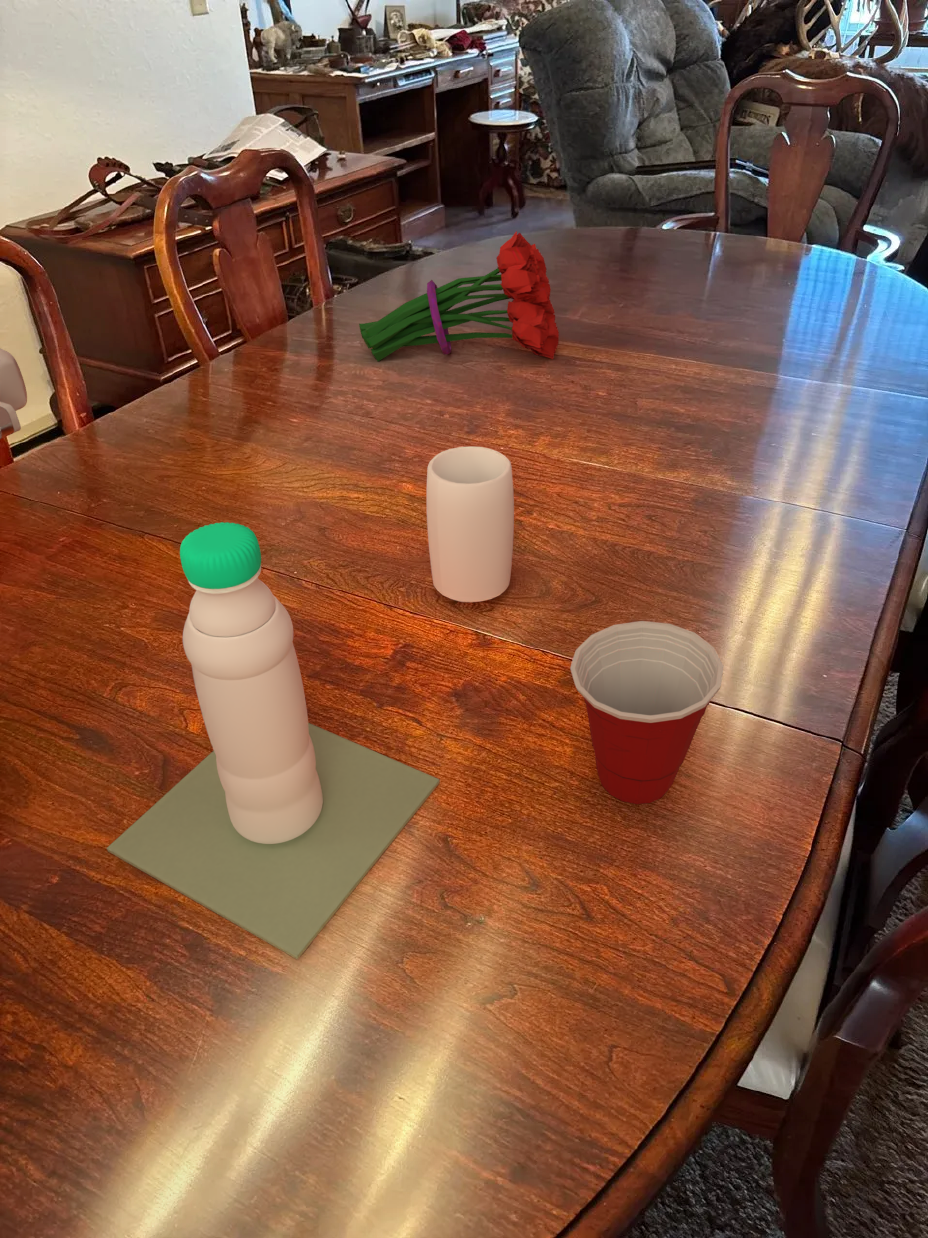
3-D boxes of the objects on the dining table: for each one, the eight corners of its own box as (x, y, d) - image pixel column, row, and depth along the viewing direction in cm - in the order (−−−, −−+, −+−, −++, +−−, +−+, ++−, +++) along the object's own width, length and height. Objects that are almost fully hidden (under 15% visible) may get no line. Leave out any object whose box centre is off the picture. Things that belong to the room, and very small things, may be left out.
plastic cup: (563, 725, 78) (571, 613, 71) (693, 732, 77) (714, 619, 70) (562, 826, 70) (570, 710, 62) (708, 835, 69) (733, 718, 61)
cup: (530, 589, 94) (533, 464, 85) (470, 625, 89) (467, 497, 81) (473, 556, 99) (470, 435, 90) (413, 588, 94) (405, 464, 86)
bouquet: (379, 374, 154) (556, 331, 150) (374, 417, 141) (568, 371, 137) (342, 256, 142) (533, 206, 138) (333, 291, 129) (543, 236, 125)
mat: (297, 960, 61) (296, 956, 61) (107, 851, 69) (106, 848, 68) (440, 782, 73) (439, 779, 73) (265, 706, 81) (264, 703, 80)
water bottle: (225, 852, 68) (145, 574, 52) (237, 780, 73) (168, 510, 58) (321, 845, 68) (270, 567, 53) (326, 774, 74) (281, 504, 58)
